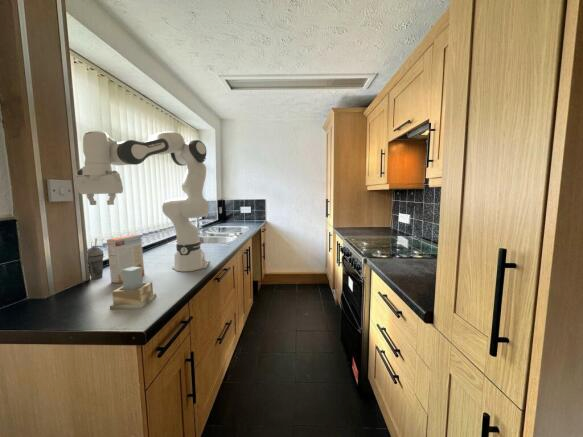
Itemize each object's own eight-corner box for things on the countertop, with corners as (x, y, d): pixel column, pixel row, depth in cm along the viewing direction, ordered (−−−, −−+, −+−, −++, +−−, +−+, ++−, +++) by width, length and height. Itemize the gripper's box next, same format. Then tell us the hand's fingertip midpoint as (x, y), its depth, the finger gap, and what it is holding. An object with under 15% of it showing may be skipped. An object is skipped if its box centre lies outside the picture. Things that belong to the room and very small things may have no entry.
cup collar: (129, 296, 104) (127, 282, 103) (156, 296, 104) (155, 281, 103) (110, 309, 93) (108, 292, 92) (140, 308, 93) (139, 291, 92)
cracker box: (136, 273, 135) (132, 234, 132) (145, 274, 133) (141, 234, 131) (110, 282, 121) (106, 239, 119) (119, 283, 119) (115, 239, 117)
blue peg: (124, 301, 96) (121, 270, 95) (134, 296, 101) (132, 266, 100) (134, 302, 95) (131, 270, 94) (143, 297, 100) (141, 267, 99)
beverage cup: (86, 278, 129) (82, 238, 127) (104, 274, 134) (100, 236, 132) (88, 281, 124) (84, 240, 122) (107, 277, 129) (103, 238, 127)
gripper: (125, 171, 106) (128, 204, 108) (88, 172, 112) (91, 204, 113) (111, 169, 100) (114, 205, 102) (72, 171, 106) (75, 205, 107)
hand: (101, 204), depth 107 cm, fingers open, 8 cm apart
